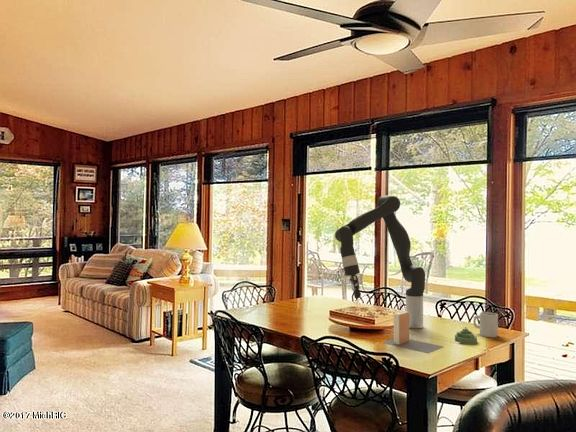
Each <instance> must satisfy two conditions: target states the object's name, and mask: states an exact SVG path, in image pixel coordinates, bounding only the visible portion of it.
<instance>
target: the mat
mask: <svg viewBox="0 0 576 432" xmlns="http://www.w3.org/2000/svg"><path fill="white" fill-rule="evenodd" d="M382 344H384V345H385V344H386V345H390V346H395V347H397V348H398V347H399V348H403V349H407V350H412V351H415V352H416V351H417V352H420V353H424V354H430V353H433V352H435V351H438V350H440V349H442V348H445V346H444V345H439V344H435V343H431V342H430V343H429V342H425V341H420V340H415V339H411V338H409V341H407V342H405V343H402V344H394V338H392V339H388V340H386V341H383V342H382Z"/></svg>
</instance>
